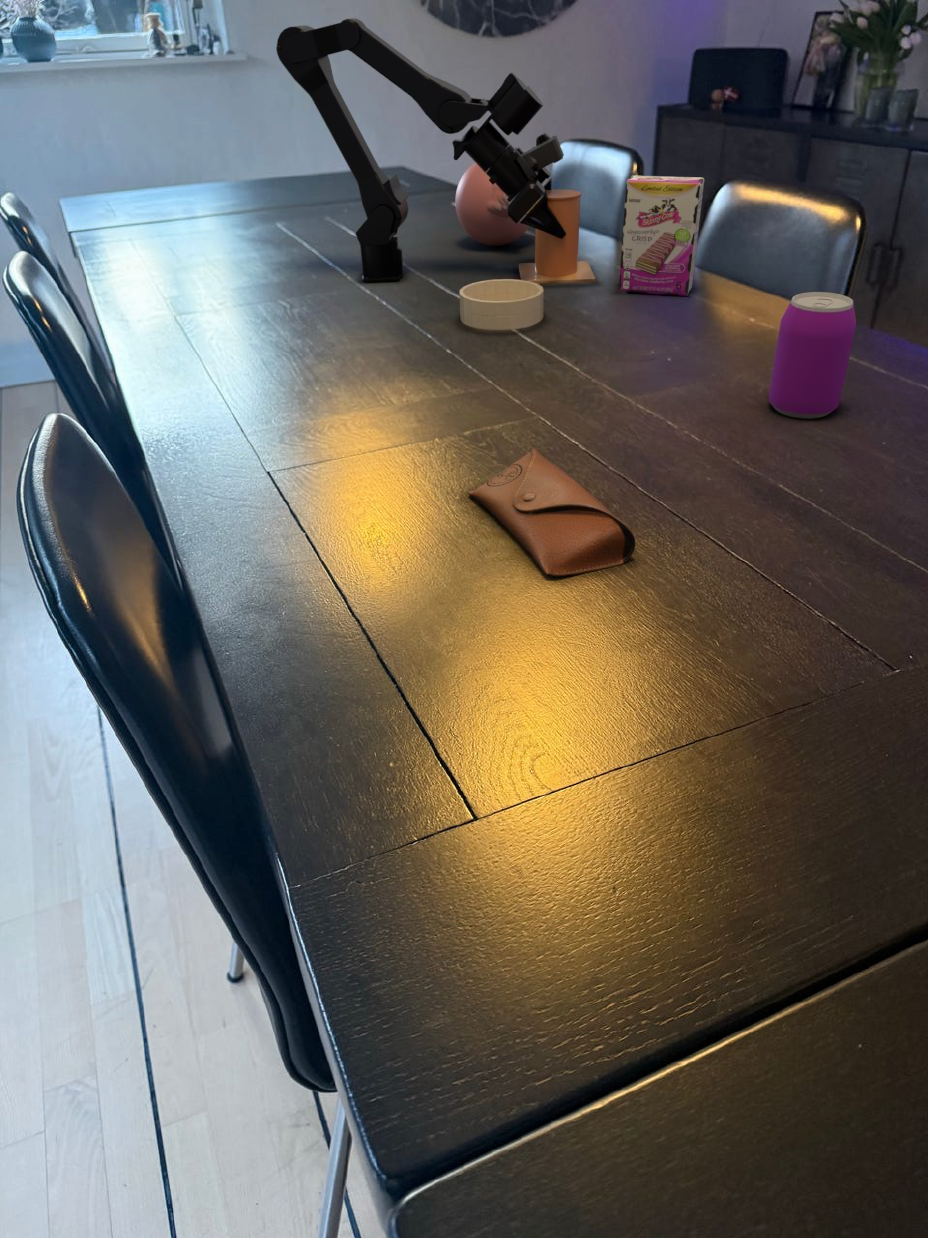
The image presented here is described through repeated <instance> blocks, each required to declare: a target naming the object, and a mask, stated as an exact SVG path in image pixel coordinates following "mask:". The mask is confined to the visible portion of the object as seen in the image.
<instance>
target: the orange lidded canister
mask: <svg viewBox="0 0 928 1238" xmlns="http://www.w3.org/2000/svg"><path fill="white" fill-rule="evenodd" d="M546 191H547V190H545V192H546ZM581 197H582V193H581V191H579V190H575V189H574V190H573V189H563V188H561V189H560V188H559V189H557V188H556V189H552V190H548V205H549V207H550V209H551V210H552V212H553V213H554V215H555V216H556V218H557V219H558V221H559V222H560V224H561V225H562V227H563V229H564V230H565V232H566V236H565V237H564V238H563V239H560V238H558V237H556V236H553V235H551V234H548V233H546V232H543V231H541V230H538V229H536V228H534V232H535V233H534V263H535V272H536V273H538V274H540V275H545V276H565V275H571V274H574V273H576V272H577V269H578V261H579V240H580V217H581V215H580V214H581Z"/></svg>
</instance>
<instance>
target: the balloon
mask: <svg viewBox="0 0 928 1238" xmlns="http://www.w3.org/2000/svg"><path fill="white" fill-rule="evenodd" d="M487 171H488V170H487ZM487 171H486V172H487ZM486 172H484V171H483V170H482V169H481V168H480V167H479V166H478V165H477V164H476V162H474V163H473V164H472V165H471V166H469V167H468V168H467V169H466V171H464V173H463V174H462V176H461V178H460V180H459V182H458V184H457V187H456V191H455V192H456V193H455V201H454V202H455V211H456V216H457V218H458V221H459V224H460V226H461V227H462V228H463V230H464V231H465V233H467V235H468V236H469V237H470V238H471V239H473V240H474V241H476V242H477V243H480V244H482V245H485V246H490V247H500V246H501V247H502V246H505V245H509V244H511V243H514V242H515V241H517V240H519V238H521V237H522V236H523V235H524V234H525V233H526V232H527V230H528V229H529V228H530V226H528V225H525V224H521V223H520V221H519V222H518V223H517V224H516V223H515V222H514V221H513V220H512V219H511V218H510V217H509V216H508V205H509V201H508V200H507V198H508V197H507V195H506V194H505V193H504V192H503V191H502V190H501V189H500V188H499V187H498V186H497V185H496V184H495V183H494V184H492V183H491V182H490V181H489V179H490V177H489V176H488V175H487V174H486ZM521 219H522V218H521ZM521 219H520V220H521Z"/></svg>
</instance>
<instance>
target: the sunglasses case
mask: <svg viewBox="0 0 928 1238" xmlns="http://www.w3.org/2000/svg"><path fill="white" fill-rule="evenodd" d="M530 449H531V451H530V452H528V453H527V454H525V455H524V456H522V457H520V458H519V459H518V460H516V461H515V462H513V463H511V464H510V465H509V466H507V467H506V468H504V469H503V470H502V471H499V472H498V473H497V474H495V476H493V477H491V478H490V479H489V480H487V481H485V482H484V483H483V484H482V485H479V487H478V488H476V489H474V490H469V492H468V496H470V498H472V499H474V500H475V501H477V503H479V504H480V505H481V506H483V507H484V508H485V509H486V510H487V511H488V512H489V513H490V514H491V515H492V516H493V517H494V518H496V519H497V521H498V522H499V523H500V524H501V525H502V526H503V527H504V529H506V530H507V531H508V532H509V533H510V535H512V537H514V539H515V540H516V541H517V543H519V545H521V547H522V548H523V549H524V550H525V551H526V552H527V553H528V555H529V556H530V557H531V558H532V559H533V561H534V562H535V564H536V565H537V566H538V567H539V568H540V570H541V571H542V572H543V573H544V574H546V576H551V577H564V576H573V575H575V576H576V575H582V574H587V573H592V572H596V571H600V570H605V569H609V568H615V567H617V566H621V565H622V566H623V564H625V563H626V562H627V561H629V560H630V558H631V557H632V556H633V554H634V552H635V549H636V537H635V535H634V532H633V531H632V530H631V528H630V527H629V526H628V525H627V524H626V523H625V522H624V521H623V520H622V519H620V518H618V517H617V516H616V515H614V514H613V513H612V512H611V511H610V510H609V509H608V508H607V507H606V506H605V505H604V504H603V503H602V502H600V501H599V500H598V499H597V498H596V497H595V496H594V495H592V494H591V493H590V492H589V491H587V490H586V489H585V488H584V487H583V486H582V485H580V484H579V483H578V482H577V481H576V480H574V479H573V478H572V476H570V475H568V474H567V473H566V472H564V471H563V470H562V469H561V468H560V467H558V466H557V465H555V464H554V463H553V462H552V461H550V460H549V459H547V458H546V457H545V456H544V455H542V454H541V453H540V451H538V450H537V449H536V448H535V447H534V446H531V448H530Z"/></svg>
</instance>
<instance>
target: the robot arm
mask: <svg viewBox="0 0 928 1238" xmlns="http://www.w3.org/2000/svg"><path fill="white" fill-rule="evenodd" d="M276 41H277V42H276V46H275V47H276V48H275V49H276V54H277V57H278V59H279V62H280V63H281V64H282V65H283V67H284V68H285V70H286V71H287V72H288V73H289V75H290V76H291V77H292V78H293V80H294V82H296V83H297V85H299V87H301V88H302V89H303V90H304V91H305V93H307V95H308V96H309V97H310V98H311V101H313V103H314V106H315V107H316V109H317V111H318V113H319V115H320V116H321V118H322V120H323V122H324V124H325V126H326V128H327V129H328V131H329V133H330V134H331V138H333V140H334V142H335V145H336V146H337V148H338V150H339V152H340V153H341V155H342V157H343V159H344V161H345V163H346V164H347V167H348V168H349V170H350V172H351V174H352V176H353V178H354V179H355V181H356V184H357V187H358V192H359V196H360V201H361V205H362V208H363V210H364V213H365V216H366V218H367V219H365V221H364V222H363V223H362V224H361V226H360V227H358V229H357V230H356V232H355V236H356V239H357V241H358V243H359V247H360V248H359V249H360V257H361V266H362V267H361V268H362V277H361V282H362V283H368V282H369V283H373V282H375V283H376V282H396V281H400V280H401V276H402V275H403V274H404V261H403V260H404V259H403V247H402V246H401V245H399V237H398V236H396V235H398V232H399V228H400V227H401V226H402V225H403V223H405V221H406V220H407V218H408V214H409V204H408V201H407V199H408V198H409V195H408V194H407V193H406V192H405V191H404V189H403V188H402V185H401V182H400V178H399V177H398V174H396V173H394V174H393V175H392V176H391V177H389V176H387V174H386V173H385V172H384V171H383V170H382V169H381V168H380V166H379V164H378V162H377V161H376V158H375V157H374V155H373V153H372V151H371V149H370V147H369V145H368V143H367V142H366V139H365V138H364V135H363V134H362V132H361V129H360V128H359V127H358V124H357V122H356V120H355V119H354V117H353V115H352V113H351V111H350V109H349V108H348V105H347V103H346V101H345V99H344V98H343V96H342V94H341V92H340V90H339V88H338V86H337V85H336V82H335V79H334V75H333V70H332V64H331V60H330V58H329V56H330V55H334V54H337V53H341V52H345V51H349V52H351V53H352V54H354V55H355V56H356V57H357V58H358V59H360V60H361V61H363V62H364V63H366V64H367V65H368V66H369V67H371V68H372V69H374V70H375V72H378V73H379V74H380V75H382V76H383V77H384V78H386V79H387V80H388V81H390V82H391V83H392V84H393V85H395V86H396V87H398V88H399V89H400V90H401V91H403V92H404V93H405V94H407V95H408V96H409V97H410V98H412V99H413V100H414V101H415V102H416V104H417V105H418V106H419V108H420V109H421V110H422V112H423V113H424V114H425V115H426V116H427V118H428V119H429V120H430V121H431V122H432V123H433V124H434V126H436V127H437V128H438V129H439V130H440V131H441V132H442V133H444V134H445V133H446V134H449V135H452V134H453V135H454V134H457V133H460V132H461V131H463V130H464V129H465V128H467V126H468V125H469V124H470V123H473V122H476V121H480V120H481V119H482V118H483V117H484V116H485V115H486V114H487V113H488V112H489V113H490V115H489V116H488V117H487V118H486V119H485V121H484V122H483V123H482V124H481V126H480V127H479V128H478V127H477V126H476V125H471V127H469V129H468V130H467V131H466V132H465V134H464V135H462V137H461V138H460V139H457V138H455V139H454V140H452V147H453V160H454V161H458V160H459V159H460V158H461V157H462V155H463V154H464V153H466V154H467V155H468V156H469V157H470V158H471V160H472V161H473V162H474V163H476V164H477V165H478V166H479V167H480V168H481V169H482V170H483V171H484V172H486V171H487V170H488V171H487V172H486V174H487V175H488V176H489V177H490V179H489V181H490V182H491V183H492V184H494V183H495V184H496V185H497V186H498V187H499V188H500V189H501V190H502V191H503V192H504V193H505V194H506V195H507V197H508V198H507V200H508V201H509V205H508V216H509V217H510V218H511V219H512V220H513V221H514V222H515V223H516V224H517V223H518V222H519V221H520V223H521V224H525V225H528V226H529V228H530V227H531V228H533V229H535V228H536V229H538V230H541V231H543V232H546V233H548V234H551V235H553V236H556V237H558V238H560V239H563V238H564V237H565V236H566V232H565V230H564V229H563V227H562V225H561V224H560V222H559V221H558V219H557V218H556V216H555V215H554V213H553V212H552V210H551V209H550V207H549V205H548V190H553V179H552V178H550V177H551V172H550V171H549V170H548V169H547V168H546V167H548V166H550V165H551V164H556V163H558V162H560V161H562V160H563V159H564V156H565V154H564V151H563V149H562V147H561V144H560V141H559V139H558V137H557V135H552V136H550V135H548V134H547V133H546V132H543V133H541V134H540V135H538V136H537V137H536V139H535V140H536V141H535V146H532V147H531V148H530V149H528V150H526V151H523V150H522V148H520V147H514V146H513V145H512V144H511V143H510V141H508V140H507V138H506V137H504V135H503V134H502V133H501V132H500V131H499V130H501V131H502V132H503V133H504V134H505V135H506V136H510V135H511V134H512V133H513V134H515V135H517V136H518V135H520V134H521V132H522V131H523V129H525V128H526V127H527V125H528V124H529V123H530V121H532V120H533V118H534V117H535V116H536V115H537V114H538V113H539V112H540V110H541V109H542V108H543V107H544V104H543V101H542V100H541V99H540V98H539V97H538V95H537V94H536V93H535V92H534V90H533V89H532V88H531V86H529V85H526V84H525V83H524V82H523V80H521V79H520V78H519V77H517V76H516V74H515V73H514V72H509V74H508V75H507V76H506V77H505V78H504V80H503V82H502V83H501V86H500V87H499V88H498V89H497V90H496V92H494V94H493V95H492V97H491V98H490V99H486V98H484V97H483V98H477V97H471V95H470V94H469V93H468V92H467V91H465V90H464V89H462V88H461V87H458V86H456V85H454V84H452V83H450V82H448V81H446V80H443V79H441V78H439V77H436V76H433V75H432V74H430V73H428V72H426V71H425V70H424V69H422V68H421V67H419V66H418V64H415V62H413V61H411V60H410V59H409V58H408V57H406V56H405V55H404V54H402V52H400V51H399V50H398V49H396V48H394V46H392V45H391V44H389V43H388V42H387V41H385V40H384V39H383V38H381V37H380V36H379V35H378V34H376V33H375V32H373V30H371V29H370V28H369V27H367V26H366V24H365V23H364V22H363V21H362V20H360V19H359V18H351V17H350V18H345V19H343V20H342V21H340V22H338V23H333V24H328V25H326V26H321V27H318V28H314V27H312V26H309V25H305V24H303V25H294V26H288V27H286V28H284V29H283V30H282V31H281V32H280V33H279V35H278V37H277V40H276ZM491 121H493V123H495V125H496V126H497V127H498V128H499V130H498V129H497V128H496V127H495V126H494V124H493V123H492V122H491ZM546 180H548V181H547V182H546V183H544V182H545V181H546ZM545 190H547V191H546V192H545ZM521 218H522V219H521ZM520 219H521V220H520Z"/></svg>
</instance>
